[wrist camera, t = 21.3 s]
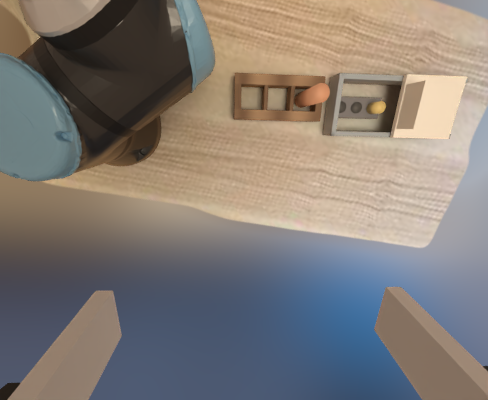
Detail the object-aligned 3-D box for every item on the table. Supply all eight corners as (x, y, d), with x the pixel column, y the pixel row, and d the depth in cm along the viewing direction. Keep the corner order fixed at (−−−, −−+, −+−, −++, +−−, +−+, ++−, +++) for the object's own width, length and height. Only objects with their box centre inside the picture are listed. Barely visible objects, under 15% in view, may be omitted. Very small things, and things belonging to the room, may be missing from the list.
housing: (322, 134, 44) (331, 135, 41) (330, 77, 41) (340, 73, 37) (431, 137, 46) (449, 138, 42) (447, 82, 42) (468, 78, 39)
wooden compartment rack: (234, 119, 43) (234, 118, 40) (234, 76, 40) (234, 72, 38) (314, 121, 44) (319, 121, 41) (319, 79, 41) (325, 76, 38)
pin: (293, 107, 43) (310, 102, 33) (295, 92, 42) (313, 82, 32) (307, 107, 43) (328, 102, 33) (309, 92, 42) (331, 83, 32)
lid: (390, 137, 41) (409, 139, 36) (403, 75, 38) (427, 68, 33) (444, 138, 42) (470, 140, 37) (462, 77, 38) (493, 71, 34)
